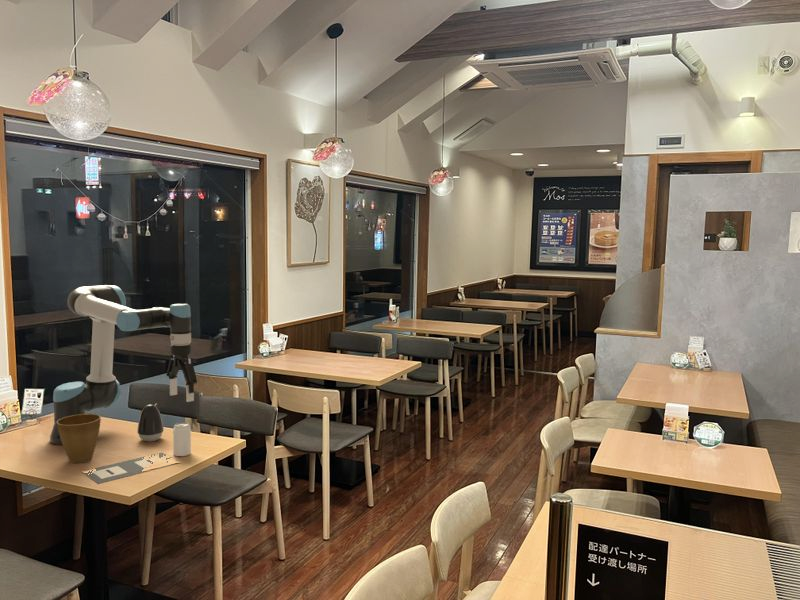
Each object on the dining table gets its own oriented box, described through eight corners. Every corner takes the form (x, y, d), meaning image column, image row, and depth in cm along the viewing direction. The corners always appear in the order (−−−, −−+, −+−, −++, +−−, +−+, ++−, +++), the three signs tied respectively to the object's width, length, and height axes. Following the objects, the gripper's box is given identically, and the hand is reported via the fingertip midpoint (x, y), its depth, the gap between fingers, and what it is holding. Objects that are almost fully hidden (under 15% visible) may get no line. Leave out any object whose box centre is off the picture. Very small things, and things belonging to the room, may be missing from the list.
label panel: (81, 471, 225) (81, 471, 224) (161, 452, 246) (161, 452, 246) (98, 483, 213) (98, 483, 213) (180, 462, 235) (180, 462, 235)
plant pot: (85, 451, 246) (84, 411, 245) (110, 457, 240) (109, 417, 238) (49, 462, 233) (47, 420, 232) (74, 469, 226) (73, 426, 225)
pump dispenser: (168, 436, 266) (168, 402, 265) (155, 444, 256) (154, 408, 255) (146, 435, 268) (146, 400, 267) (132, 442, 258) (131, 406, 256)
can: (185, 457, 241) (184, 427, 239) (169, 456, 242) (169, 426, 241) (193, 452, 247) (193, 422, 246) (179, 450, 248) (179, 421, 247)
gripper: (156, 341, 246) (157, 393, 248) (187, 349, 229) (188, 405, 230) (175, 339, 251) (175, 390, 253) (206, 346, 234) (206, 402, 236)
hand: (181, 398), depth 242 cm, fingers open, 13 cm apart
